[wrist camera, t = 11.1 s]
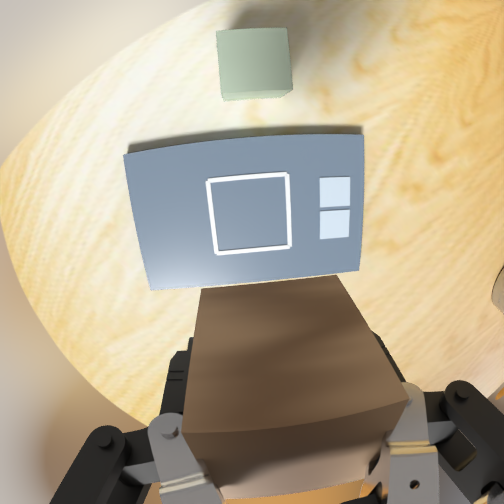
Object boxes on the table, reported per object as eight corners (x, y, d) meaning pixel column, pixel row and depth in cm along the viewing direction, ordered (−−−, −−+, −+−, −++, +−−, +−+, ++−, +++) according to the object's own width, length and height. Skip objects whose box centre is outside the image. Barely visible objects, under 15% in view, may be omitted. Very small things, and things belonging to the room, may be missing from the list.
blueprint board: (359, 134, 25) (364, 134, 24) (355, 266, 31) (359, 271, 30) (126, 153, 25) (122, 154, 24) (152, 285, 30) (150, 290, 29)
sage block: (275, 47, 22) (286, 27, 16) (280, 97, 24) (293, 89, 18) (219, 51, 22) (216, 31, 16) (223, 101, 24) (221, 93, 18)
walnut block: (336, 274, 11) (409, 398, 5) (327, 367, 13) (364, 478, 7) (201, 288, 11) (180, 432, 5) (220, 380, 13) (219, 498, 7)
